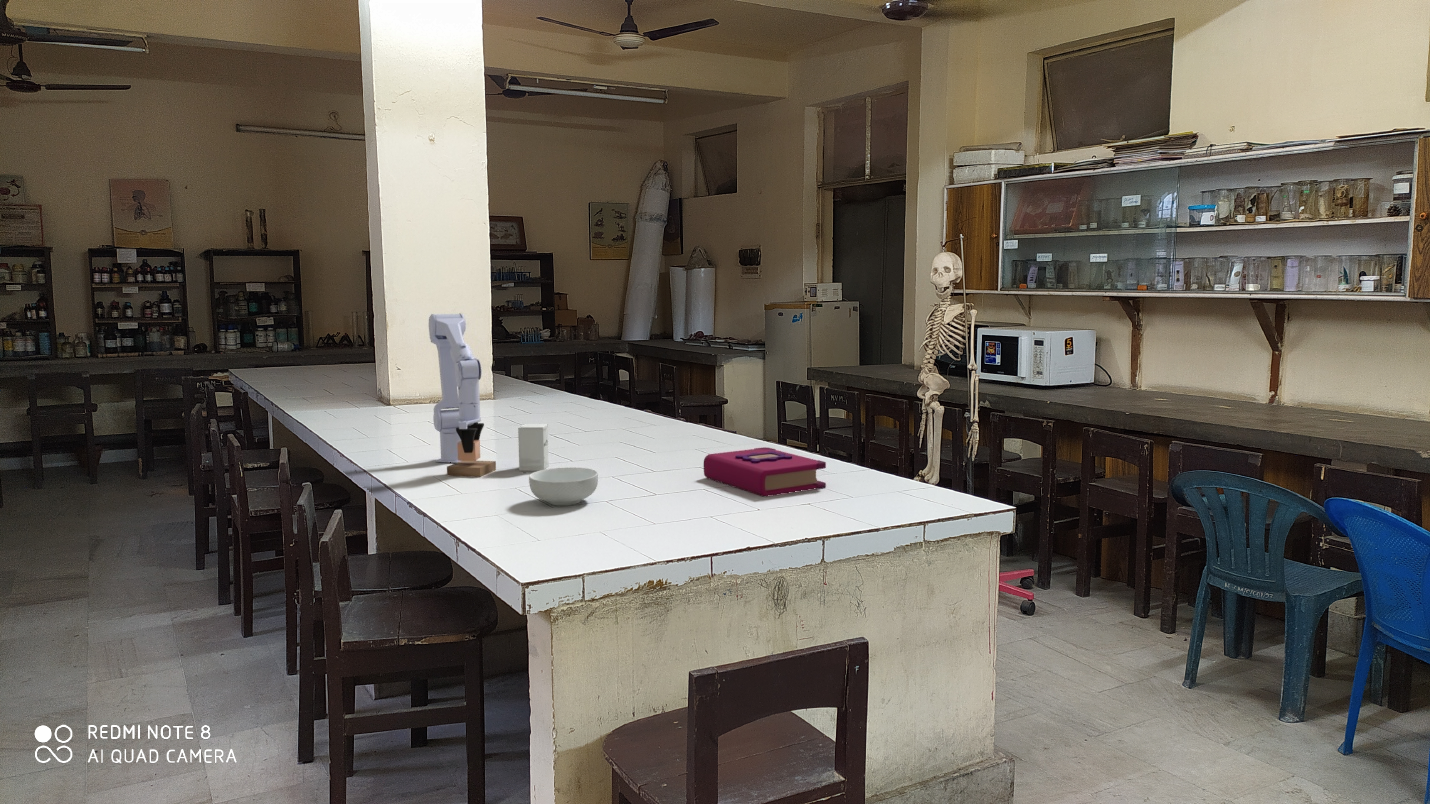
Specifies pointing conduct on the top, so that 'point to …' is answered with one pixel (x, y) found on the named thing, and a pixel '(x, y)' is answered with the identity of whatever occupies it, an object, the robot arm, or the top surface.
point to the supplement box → (533, 447)
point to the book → (764, 471)
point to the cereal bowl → (563, 484)
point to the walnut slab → (471, 468)
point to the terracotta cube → (469, 456)
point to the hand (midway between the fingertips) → (471, 450)
